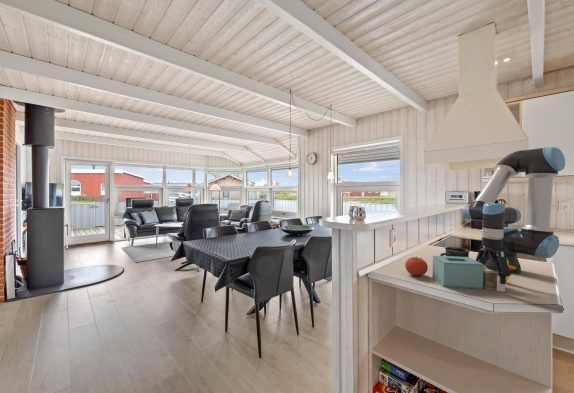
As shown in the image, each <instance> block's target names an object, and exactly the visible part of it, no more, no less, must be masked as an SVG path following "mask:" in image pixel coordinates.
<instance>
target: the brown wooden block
mask: <svg viewBox="0 0 574 393" xmlns="http://www.w3.org/2000/svg"><path fill="white" fill-rule="evenodd" d="M498 274H499V273H498V271H494V270H486V271H483V288H484V289H491V288H492V290H493V289H495V290H497V275H498Z"/></svg>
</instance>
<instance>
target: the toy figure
mask: <svg viewBox="0 0 574 393" xmlns="http://www.w3.org/2000/svg"><path fill="white" fill-rule="evenodd" d="M506 260H507V258H506ZM507 264H508V260H507ZM508 267H509V269H513V270H514V269H516V267H514V266H511V265H508ZM506 273H507V272H506ZM509 279H510V276H506V284H505V285H510V284H511V283H510V282H509V281H508V280H509Z"/></svg>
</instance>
